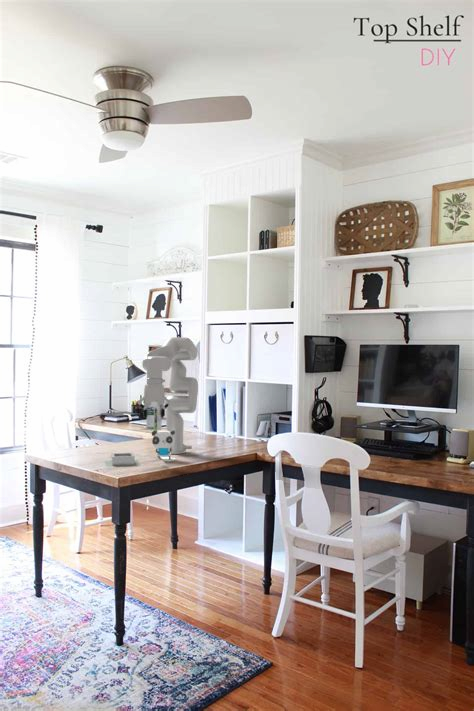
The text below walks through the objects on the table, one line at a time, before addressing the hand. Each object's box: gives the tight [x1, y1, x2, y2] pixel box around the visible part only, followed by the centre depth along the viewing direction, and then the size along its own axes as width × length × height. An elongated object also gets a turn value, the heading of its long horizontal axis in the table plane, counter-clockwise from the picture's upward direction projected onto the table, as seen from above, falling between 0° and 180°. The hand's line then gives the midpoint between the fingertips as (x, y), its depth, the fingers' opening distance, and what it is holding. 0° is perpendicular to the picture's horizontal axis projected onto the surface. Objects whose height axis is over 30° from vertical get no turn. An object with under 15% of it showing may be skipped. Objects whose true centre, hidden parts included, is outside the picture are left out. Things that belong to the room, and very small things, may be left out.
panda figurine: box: [151, 430, 176, 462], centre depth 312 cm, size 12×11×15 cm
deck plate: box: [104, 459, 141, 467], centre depth 292 cm, size 16×14×2 cm
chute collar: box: [110, 452, 136, 465], centre depth 292 cm, size 10×10×4 cm
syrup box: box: [145, 401, 163, 432], centre depth 297 cm, size 6×6×14 cm
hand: (154, 417), depth 297 cm, fingers closed on syrup box, 7 cm apart
